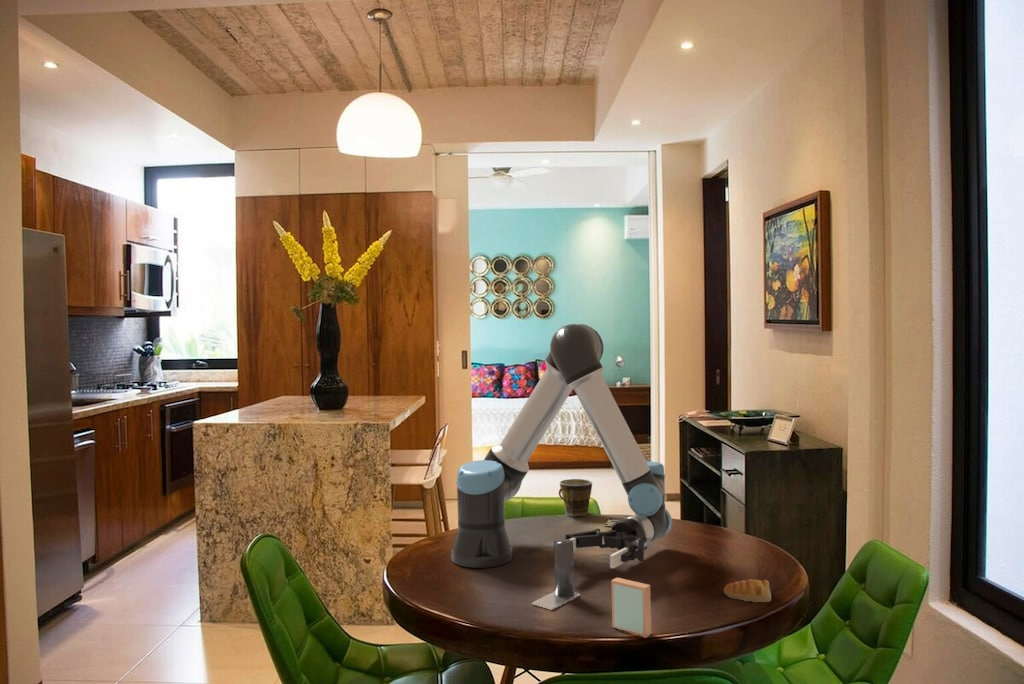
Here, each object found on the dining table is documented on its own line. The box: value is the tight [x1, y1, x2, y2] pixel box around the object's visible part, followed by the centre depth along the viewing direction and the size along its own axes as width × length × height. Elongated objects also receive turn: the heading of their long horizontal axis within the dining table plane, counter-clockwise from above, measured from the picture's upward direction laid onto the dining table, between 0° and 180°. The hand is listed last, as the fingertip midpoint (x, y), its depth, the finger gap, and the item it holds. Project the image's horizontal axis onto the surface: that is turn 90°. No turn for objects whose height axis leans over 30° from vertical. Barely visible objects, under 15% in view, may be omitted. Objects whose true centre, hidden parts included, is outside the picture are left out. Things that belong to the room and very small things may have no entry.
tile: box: [610, 577, 652, 639], centre depth 129 cm, size 7×2×9 cm, turn 51°
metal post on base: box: [531, 538, 580, 611], centre depth 145 cm, size 5×10×12 cm, turn 141°
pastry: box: [723, 578, 772, 603], centre depth 145 cm, size 9×7×4 cm
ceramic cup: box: [558, 478, 593, 518], centre depth 214 cm, size 13×10×10 cm
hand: (584, 556), depth 152 cm, fingers open, 13 cm apart
